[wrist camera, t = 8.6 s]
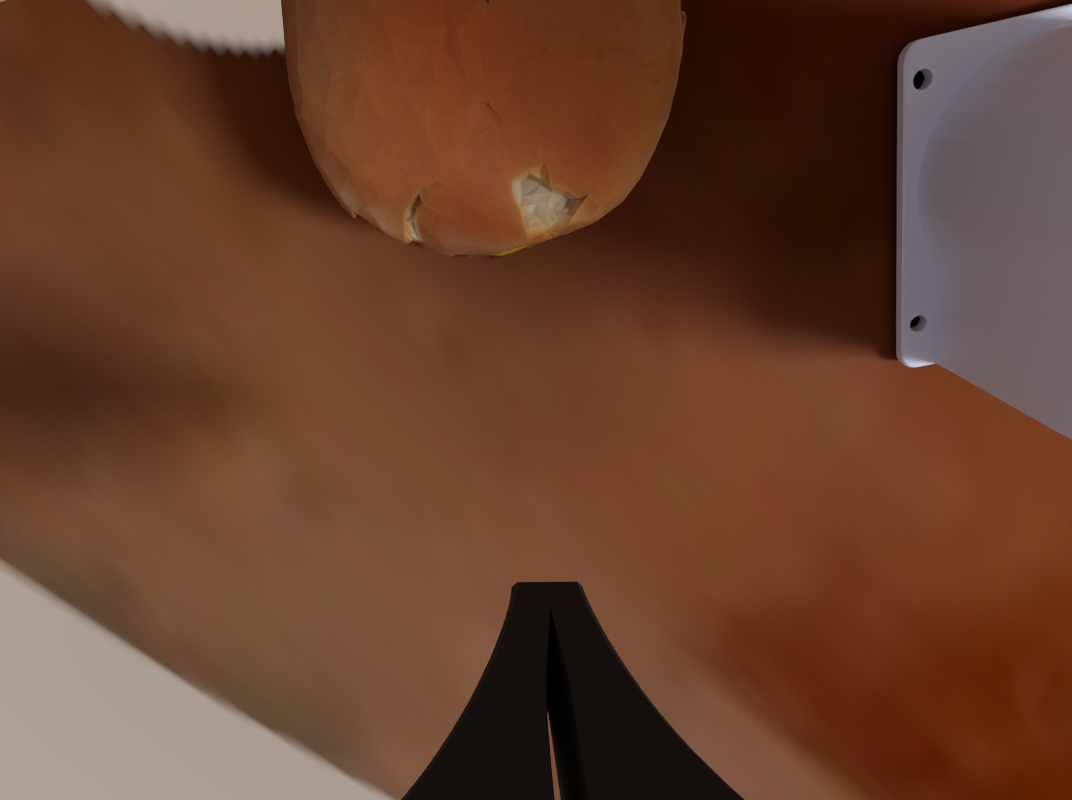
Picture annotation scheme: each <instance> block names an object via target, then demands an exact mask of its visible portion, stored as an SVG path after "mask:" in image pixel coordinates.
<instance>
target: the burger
mask: <svg viewBox="0 0 1072 800" xmlns="http://www.w3.org/2000/svg"><path fill="white" fill-rule="evenodd" d="M681 3H682V0H281V4H282V16H283V28H284V40H285V51H286V63H287V71H288V79H289V86H290V93H291V96H292V99H293V102H294V113H295V116H296V118H297V121H298V123H299V126H300V128H301V131H302V133H303V136H304V138H305V141H306V143H307V146H308V148H309V151H310V153H311V156H312V158H313V161H314V163H315V165H316V166H317V168H318V170H319V172H320V174H321V176H322V177H323V179H324V181H325V183H326V185H327V186H328V188H329V189H330V191H331V192H332V193H333V195H334V196H335V198H336V199H337V201H338V202H339V203H340V205H341V206H342V207H343V208H344V209H345V211H346V212H347V213H348V214H349V215H350V216H351V217H352V218H353V219H355V218H356V217H357V215H360V216H361V217H363V218H364V219H366V220H367V221H369V222H370V223H371V224H372V225H373V226H375V227H376V228H377V229H378V230H380V231H381V232H382V233H383V234H385V235H386V236H387V237H389V238H392V239H394V240H396V241H398V242H401V243H403V244H405V245H407V244H408V243H410V242H412V241H415V242H416V244H418V245H420V246H422V247H423V248H424V249H426V250H429V251H432V252H435V253H438V254H441V255H444V256H447V257H454V258H458V259H469V258H471V257H472V256H476V257H482V258H486V259H494V258H498V257H502V256H506V255H510V254H512V253H515V252H517V251H519V250H521V249H529V248H531V247H533V246H534V245H536V244H540V243H543V242H545V241H547V240H550V239H552V238H554V237H557V236H561V235H565V234H568V233H571V232H573V231H575V230H578V229H580V228H583V227H585V226H588V225H590V224H592V223H595V222H596V221H598V220H599V219H600V218H602V217H603V216H604V215H606V214H607V213H608V212H610V211H611V210H612V209H614V208H615V207H616V206H618V205H619V204H620V203H622V202H623V201H624V200H625V198H626V197H627V196H628V194H629V193H630V192H631V190H632V189H633V188H634V186H635V185H636V184H637V182H638V181H639V180H640V178H641V177H642V175H643V173H644V171H645V169H646V167H647V165H648V163H649V161H650V159H651V157H652V155H653V153H654V151H655V149H656V146H657V144H658V142H659V139H660V137H661V134H662V132H663V130H664V127H665V125H666V123H667V120H668V118H669V114H670V110H671V106H672V102H673V98H674V94H675V90H676V86H677V82H678V75H679V67H680V64H681V61H682V54H683V36H684V31H685V27H686V19H687V16H686V14H685V12H684V11H681Z"/></svg>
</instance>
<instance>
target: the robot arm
mask: <svg viewBox="0 0 1072 800" xmlns="http://www.w3.org/2000/svg"><path fill="white" fill-rule="evenodd" d="M919 70H920V71H921V72H923V74H924V82H923V84H922V86H921V87H920V88H919V89H916V88H915V87H914V84H913V79H914V76H915V75H916V73H917V72H918V71H919ZM918 315H919V317H920V319H919V323H918V324H917V325H916V326H915V327H912V328H910V323H911V320H912V319H913V318H914V317H916V316H918ZM896 355H897V359H898V360H899V361H900V362H901V363H903V364H904V365H906V366H909V367H920V366H925V365H930V364H935V363H937V364H938V365H940V366H942V367H944V368H946V369H947V370H949V371H951V372H953V373H954V374H956V375H958V376H960V377H961V378H963V379H965V380H967V381H968V382H970V383H972V384H974V385H975V386H977V387H979V388H981V389H983V390H984V391H986V392H988V393H990V394H991V395H993V396H995V397H997V398H998V399H1000V400H1002V401H1004V402H1005V403H1007V404H1009V405H1011V406H1012V407H1014V408H1016V409H1018V410H1020V411H1021V412H1023V413H1025V414H1027V415H1028V416H1030V417H1032V418H1034V419H1035V420H1037V421H1039V422H1041V423H1042V424H1044V425H1046V426H1048V427H1049V428H1051V429H1053V430H1055V431H1056V432H1058V433H1060V434H1062V435H1064V436H1065V437H1067V438H1070V439H1072V4H1069V5H1065V6H1060V7H1056V8H1052V9H1047V10H1043V11H1039V12H1034V13H1030V14H1026V15H1022V16H1017V17H1013V18H1009V19H1004V20H1000V21H996V22H991V23H987V24H983V25H978V26H974V27H970V28H965V29H961V30H957V31H952V32H948V33H944V34H939V35H935V36H931V37H927V38H922V39H918V40H915V41H913V42H910V43H909V44H908V45H907V46H906V47H904V48H903V50H902V52H901V53H900V55H899V59H898V64H897V260H896ZM547 713H548V714H549V721H550V728H551V735H552V742H553V749H554V756H555V763H556V769H557V776H558V783H559V790H560V797H561V800H744V799H743V798H742V797H741V796H740V795H739V794H737V793H736V792H735V791H734V790H733V789H732V788H731V787H730V786H729V785H728V784H727V783H726V782H725V781H723V780H722V779H721V778H720V777H719V776H718V775H717V774H716V773H715V772H714V771H713V770H712V769H711V768H710V767H709V766H708V765H707V764H706V763H705V762H704V761H703V760H702V759H701V758H700V757H699V756H698V755H697V754H696V753H695V752H694V751H693V750H692V749H691V748H690V747H689V746H688V745H687V744H686V742H685V741H684V740H683V739H682V738H681V737H680V736H679V735H678V734H677V733H676V731H675V730H674V729H673V728H672V727H671V726H670V724H669V723H668V722H667V721H666V720H665V719H664V717H663V716H662V715H661V714H660V713H659V711H658V710H657V709H656V708H655V706H654V705H653V704H652V703H651V701H650V700H649V699H648V697H647V696H646V695H645V693H644V692H643V691H642V689H641V688H640V686H639V685H638V684H637V682H636V681H635V679H634V678H633V677H632V675H631V674H630V672H629V671H628V669H627V668H626V666H625V665H624V663H623V662H622V660H621V659H620V657H619V656H618V654H617V652H616V651H615V649H614V648H613V646H612V644H611V643H610V641H609V639H608V638H607V636H606V634H605V633H604V631H603V629H602V627H601V625H600V624H599V622H598V620H597V618H596V616H595V614H594V612H593V610H592V608H591V606H590V604H589V602H588V600H587V597H586V595H585V593H584V590H583V587H582V586H581V585H580V584H579V583H578V582H517V583H516V584H515V585H514V586H512V590H511V598H510V603H509V607H508V611H507V614H506V618H505V621H504V624H503V627H502V630H501V633H500V635H499V638H498V640H497V643H496V645H495V648H494V650H493V653H492V655H491V658H490V660H489V662H488V664H487V666H486V668H485V670H484V672H483V675H482V677H481V679H480V681H479V683H478V685H477V687H476V689H475V691H474V693H473V695H472V697H471V698H470V700H469V702H468V704H467V706H466V708H465V709H464V711H463V713H462V714H461V716H460V718H459V719H458V721H457V723H456V724H455V726H454V728H453V729H452V731H451V733H450V734H449V736H448V737H447V739H446V740H445V742H444V743H443V745H442V746H441V748H440V749H439V751H438V752H437V754H436V755H435V757H434V758H433V759H432V761H431V762H430V764H429V765H428V766H427V768H426V769H425V771H424V772H423V773H422V775H421V776H420V777H419V778H418V780H417V781H416V782H415V783H414V785H413V786H412V787H411V788H410V790H409V791H408V792H407V793H406V795H405V796H404V797H403V798H402V800H554V790H553V779H552V768H551V757H550V745H549V733H548V720H547Z"/></svg>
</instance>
